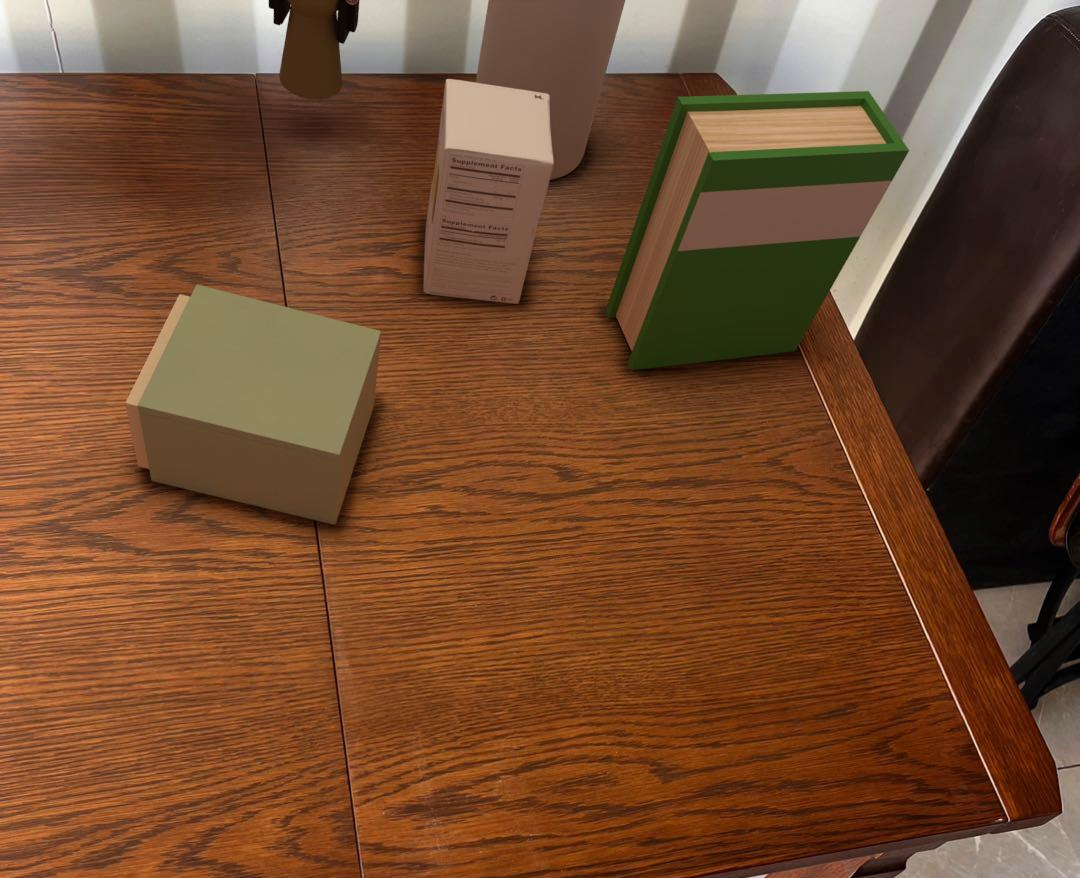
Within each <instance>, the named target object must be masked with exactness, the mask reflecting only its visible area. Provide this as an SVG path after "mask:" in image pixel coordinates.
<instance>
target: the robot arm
mask: <svg viewBox="0 0 1080 878" xmlns="http://www.w3.org/2000/svg"><path fill="white" fill-rule="evenodd" d="M290 7H291V4H290V3H289V1H288V0H268V9H271V10H273V20H272V21H273V22H272V23H273V24H274V25H276V26H281V25H283V24H284V22H285V20H286V18H287V17H288V15H289V13H290ZM359 11H360V0H340V1H339V4H338V11H337V35H336V40H337V41H338V42H339V44H342V45H344V44H345V43H346V40H347V38H348V37H349V35H350V33H355V32H356V30H357V28H358V24H359V15H360V14H359Z"/></svg>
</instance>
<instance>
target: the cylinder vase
mask: <svg viewBox="0 0 1080 878" xmlns="http://www.w3.org/2000/svg"><path fill="white" fill-rule="evenodd" d="M625 3H626V0H488V2H487V7H486V14H485V20H484V28H483V32H482V39H481V45H480V52H479V57H478V65H477V71H476V78H475V83H481V84H487V85H494V86H501V87H507V88H514V89H521V90H528V91H534V92H540V93H546V94H549V96H550V99H549V111H550V131H551V142H552V152H553V161H554V165H553V169H552V173H551V177H550V181H551V180H557V179H560V178H563V177H564V176H567V175H568V174H570V173H571V172H573V171H574V170H576V168H577V167H578V166H579V165H580V163H581V162H582V160H583V158H584V155H585V151H586V148H587V145H588V141H589V137H590V134H591V129H592V125H593V121H594V119H595V116H596V111H597V107H598V103H599V99H600V96H601V94H602V93H601V92H602V88H603V86H604V81H605V77H606V74H607V70H608V68H609V67H608V66H609V64H610V63H609V62H610V60H611V55H612V52H613V47H614V44H615V41H616V37H617V33H618V31H619V30H618V29H619V26H620V22H621V18H622V14H623V11H624V8H625Z"/></svg>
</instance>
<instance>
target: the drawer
mask: <svg viewBox="0 0 1080 878" xmlns="http://www.w3.org/2000/svg"><path fill="white" fill-rule="evenodd" d="M190 297H191V296H190V295H185V294H182V293H179V294H178V296H177V298H176V299H175V302H174V304H173V306H172V308H171V310H170V312H169V314H168V316H167V318H166V320H165V322H164V324H163V326H162V327H161V331H160V332H159V334H158V335H157V336H158V337H157V338H156V340H155V342H154V345H153V346H152V348H151V350H150V352H149V355H148V356H147V359H146V360H145V363H144V364H143V366H142V368H141V371H140V372H139V375H138V376H137V378H136V381H135V383H134V384H133V386H132V389H131V391H130V392H129V395H128V397H127V399H126V400H125V407H126V408H125V409H126V414H127V418H128V423H129V424H128V425H129V428H130V432H131V439H132V444H133V448H134V454H135V458H136V464H137V467H139V468H143V469H147V470H149V465H148V459H147V454H146V448H145V443H144V438H143V432H142V427H141V421H140V416H139V410H138V403H139V401H140V399H141V397H142V395H143V393H144V391H145V389H146V387H147V385H148V383H149V381H150V379H151V377H152V375H153V372H154V370H155V368H156V366H157V364H158V362H159V360H160V358H161V356H162V354H163V352H164V350H165V348H166V346H167V344H168V342H169V340H170V338H171V336H172V334H173V331H174V329H175V327H176V325H177V323H178V321H179V319H180V317H181V315H182V313H183V311H184V309H185V307H186V305H187V303H188V301H189V299H190Z"/></svg>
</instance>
